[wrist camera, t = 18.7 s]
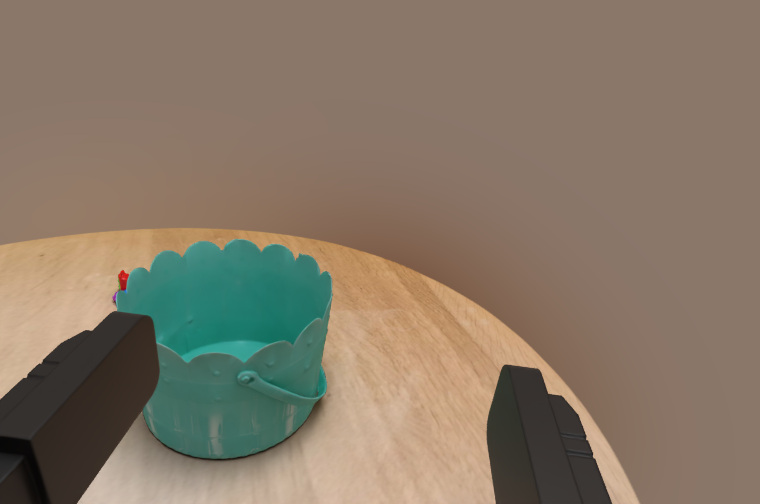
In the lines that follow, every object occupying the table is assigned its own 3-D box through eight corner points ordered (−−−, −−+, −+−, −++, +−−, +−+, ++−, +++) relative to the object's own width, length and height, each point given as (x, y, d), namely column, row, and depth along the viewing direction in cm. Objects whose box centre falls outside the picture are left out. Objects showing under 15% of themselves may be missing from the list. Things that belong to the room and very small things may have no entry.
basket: (170, 330, 56) (160, 231, 51) (327, 337, 59) (334, 242, 53) (100, 471, 39) (72, 346, 34) (323, 473, 42) (334, 356, 36)
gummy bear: (130, 308, 59) (126, 284, 58) (106, 308, 59) (102, 283, 57) (142, 287, 64) (139, 263, 62) (120, 286, 63) (116, 263, 62)
